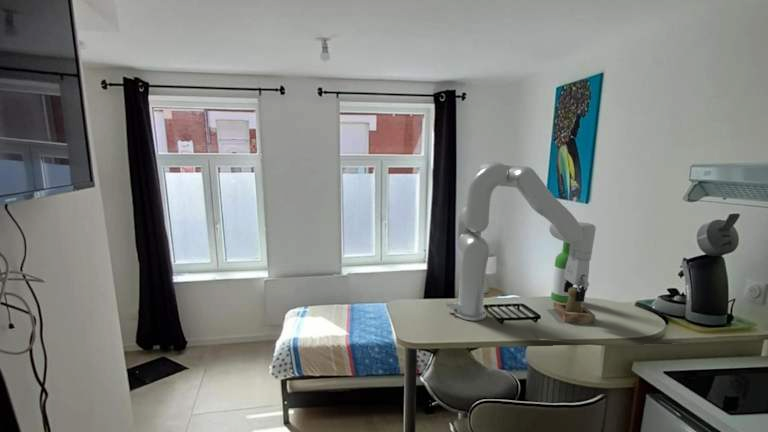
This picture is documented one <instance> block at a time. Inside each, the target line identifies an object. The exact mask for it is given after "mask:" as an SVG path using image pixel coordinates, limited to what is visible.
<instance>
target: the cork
mask: <svg viewBox="0 0 768 432" xmlns="http://www.w3.org/2000/svg"><path fill="white" fill-rule="evenodd" d="M576 291H577V286H576V287H575V286H573V287H571V288H569V290H568V294H569V298H568V301H567V305H566V308H565V309H566V310H567V311H568V312H576V313H581V304H582V302H577V301H575V295H576Z"/></svg>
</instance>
